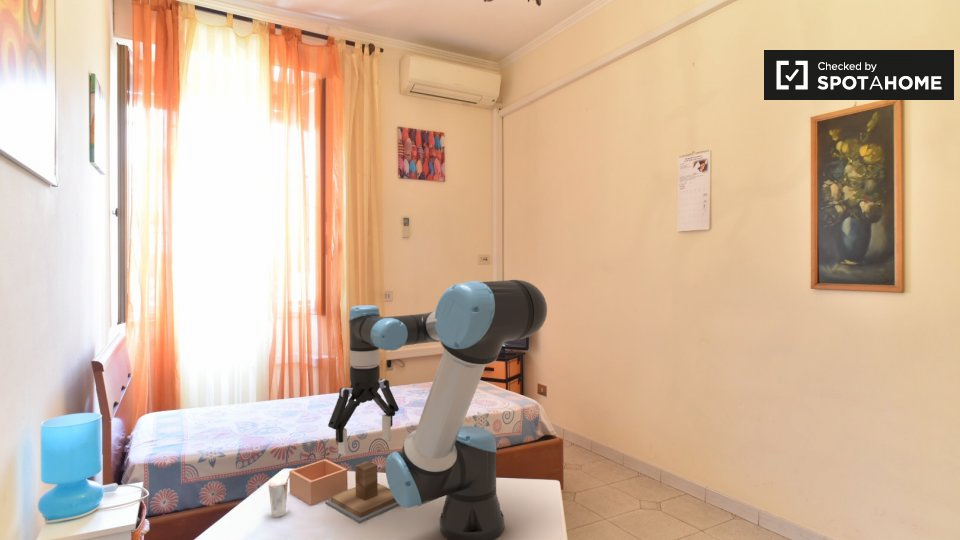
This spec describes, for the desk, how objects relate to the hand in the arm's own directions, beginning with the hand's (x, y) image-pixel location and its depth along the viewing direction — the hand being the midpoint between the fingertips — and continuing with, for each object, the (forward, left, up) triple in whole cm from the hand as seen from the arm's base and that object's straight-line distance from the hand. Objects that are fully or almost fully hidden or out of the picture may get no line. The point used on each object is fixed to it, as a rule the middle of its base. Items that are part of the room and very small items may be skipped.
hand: (365, 446), depth 136 cm
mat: (0, 0, -15) cm, 15 cm away
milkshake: (+11, +18, -15) cm, 26 cm away
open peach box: (+15, +5, -15) cm, 21 cm away
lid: (0, 0, -14) cm, 14 cm away
